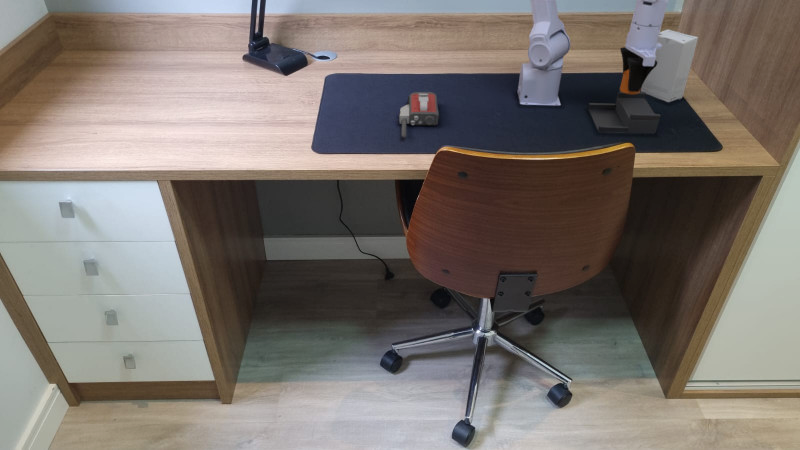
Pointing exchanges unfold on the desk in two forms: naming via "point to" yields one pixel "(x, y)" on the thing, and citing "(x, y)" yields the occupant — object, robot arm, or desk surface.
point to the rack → (625, 115)
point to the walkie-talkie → (419, 110)
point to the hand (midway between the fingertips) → (630, 86)
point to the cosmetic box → (671, 66)
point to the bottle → (626, 83)
